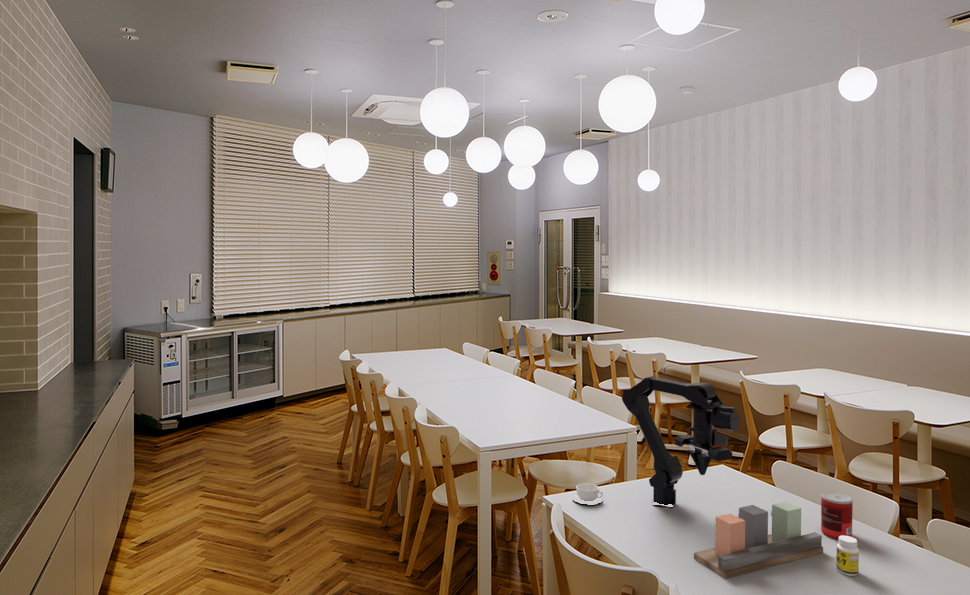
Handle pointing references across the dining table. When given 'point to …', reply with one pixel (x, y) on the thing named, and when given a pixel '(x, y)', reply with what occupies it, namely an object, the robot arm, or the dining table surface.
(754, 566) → the wooden display stand
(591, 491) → the teacup
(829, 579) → the dining table surface
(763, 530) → the gray rectangular block
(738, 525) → the pink upright block
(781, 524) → the sage green block
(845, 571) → the supplement bottle
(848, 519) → the canned food
